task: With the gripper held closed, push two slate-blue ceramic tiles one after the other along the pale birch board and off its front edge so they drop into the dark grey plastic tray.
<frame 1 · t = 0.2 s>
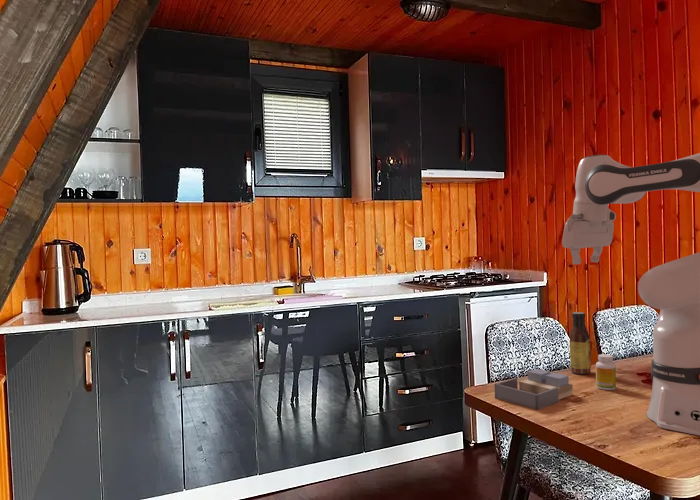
hand: (585, 263, 151), 38 cm above the table, tool pointing down, fingers open, 8 cm apart
tile a: (557, 384, 156), point 3 cm above the table, touching board
supplement bottle: (606, 388, 160), on the table
sauce bottle: (580, 373, 178), on the table
tile b: (539, 379, 160), point 3 cm above the table, touching board
board: (545, 392, 157), on the table
tray: (526, 399, 152), on the table
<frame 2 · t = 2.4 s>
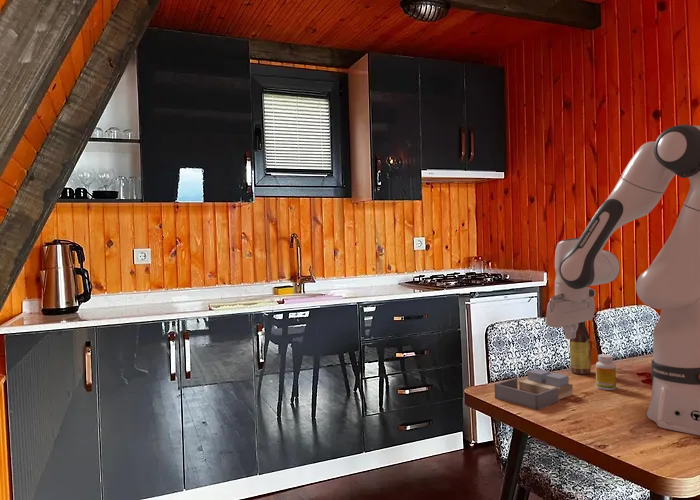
hand: (570, 338, 160), 15 cm above the table, tool pointing down, fingers closed
nothing on the table moved.
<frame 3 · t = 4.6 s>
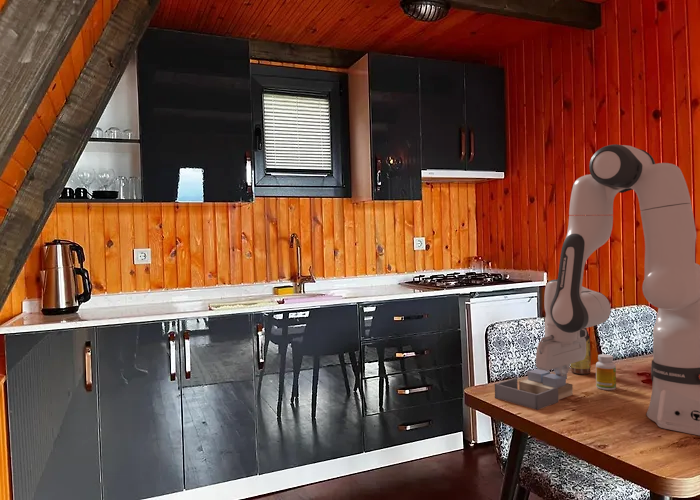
hand: (561, 380, 157), 4 cm above the table, tool pointing down, fingers closed
tile a: (554, 384, 155), point 3 cm above the table, touching gripper
everything else where it was.
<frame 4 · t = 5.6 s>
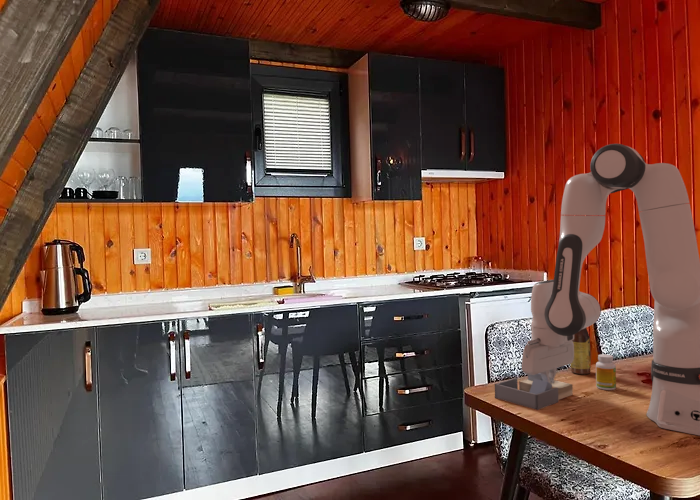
hand: (548, 384, 153), 4 cm above the table, tool pointing down, fingers closed
tile a: (542, 390, 152), point 2 cm above the table, tilted 58°, touching tray
everything else where it was.
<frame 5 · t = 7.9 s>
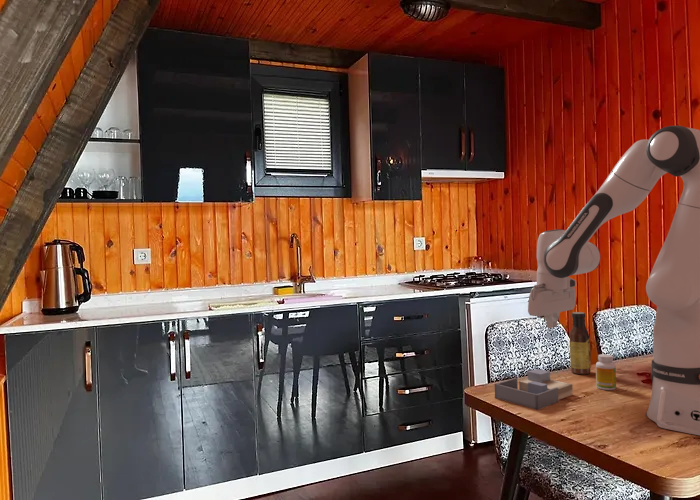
hand: (552, 327, 164), 18 cm above the table, tool pointing down, fingers closed
tile a: (540, 390, 151), point 3 cm above the table, tilted 90°, touching tray
everything else where it was.
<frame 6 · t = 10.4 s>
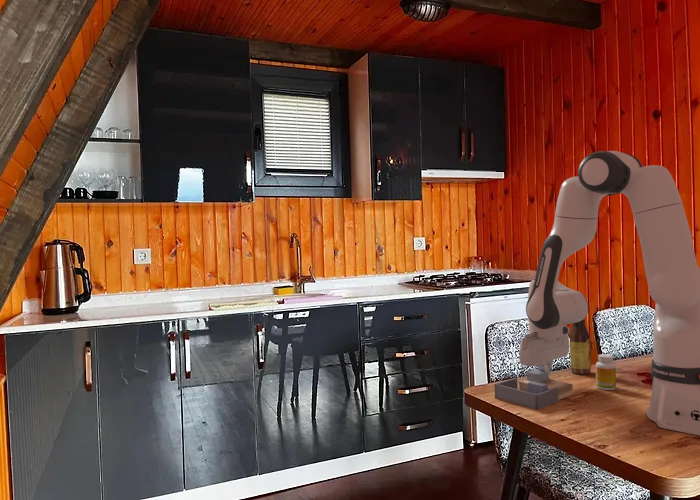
hand: (545, 375, 162), 4 cm above the table, tool pointing down, fingers closed
tile b: (537, 380, 160), point 3 cm above the table, touching board, gripper
everything else where it was.
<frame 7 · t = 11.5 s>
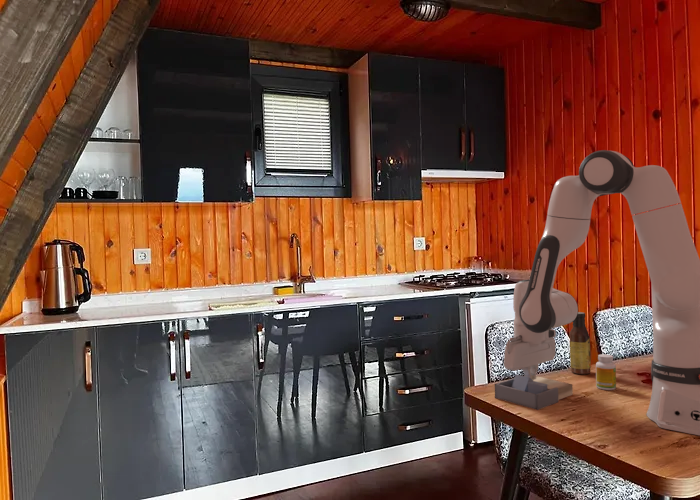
hand: (530, 379, 158), 4 cm above the table, tool pointing down, fingers closed
tile b: (524, 386, 156), point 2 cm above the table, tilted 56°, touching gripper, tray
everything else where it was.
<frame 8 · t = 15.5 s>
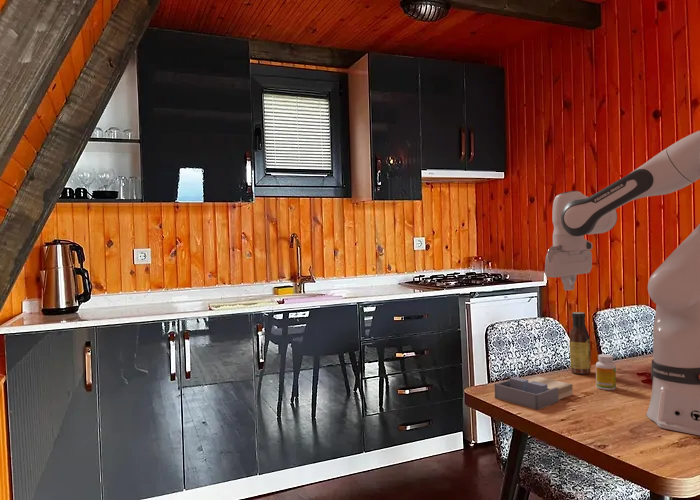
hand: (568, 290, 164), 29 cm above the table, tool pointing down, fingers closed
tile b: (521, 386, 156), point 3 cm above the table, tilted 90°, touching tray
everything else where it was.
at the end: tile a inside the target area on the tray (4.0 cm from its centre), point 2.7 cm above the tray's base; tile b inside the target area on the tray (4.1 cm from its centre), point 2.7 cm above the tray's base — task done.
